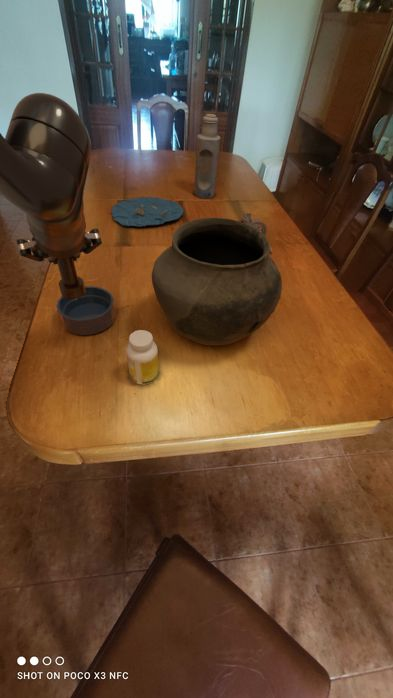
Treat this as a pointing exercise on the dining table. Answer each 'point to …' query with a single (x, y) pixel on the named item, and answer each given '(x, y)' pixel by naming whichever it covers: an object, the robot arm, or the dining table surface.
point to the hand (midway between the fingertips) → (63, 257)
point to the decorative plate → (146, 211)
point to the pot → (217, 281)
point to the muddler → (70, 279)
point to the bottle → (207, 158)
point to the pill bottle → (142, 357)
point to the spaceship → (255, 225)
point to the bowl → (87, 311)
